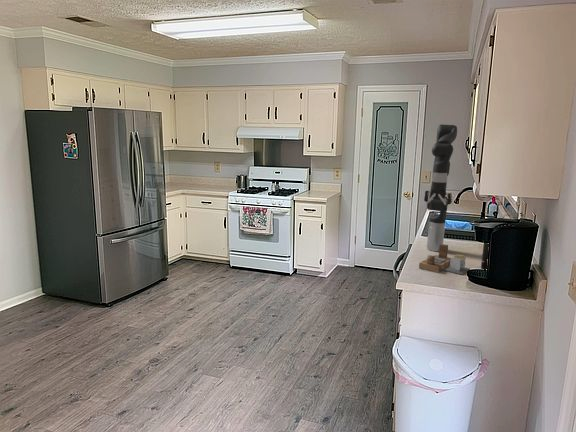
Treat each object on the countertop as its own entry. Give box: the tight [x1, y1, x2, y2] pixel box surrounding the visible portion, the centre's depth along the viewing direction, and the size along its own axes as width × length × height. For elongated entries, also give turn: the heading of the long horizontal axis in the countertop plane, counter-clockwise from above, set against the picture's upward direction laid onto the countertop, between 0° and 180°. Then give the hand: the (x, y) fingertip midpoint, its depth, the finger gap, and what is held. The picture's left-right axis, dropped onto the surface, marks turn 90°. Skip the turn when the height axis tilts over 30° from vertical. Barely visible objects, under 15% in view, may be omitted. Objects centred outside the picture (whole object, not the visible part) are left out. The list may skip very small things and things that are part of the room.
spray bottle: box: [480, 242, 489, 271], centre depth 221 cm, size 10×10×25 cm
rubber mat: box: [443, 266, 471, 276], centre depth 222 cm, size 12×9×1 cm
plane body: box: [418, 243, 452, 273], centre depth 228 cm, size 22×10×10 cm, turn 140°
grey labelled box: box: [449, 253, 467, 272], centre depth 221 cm, size 8×5×7 cm, turn 140°
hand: (436, 210), depth 234 cm, fingers open, 8 cm apart
